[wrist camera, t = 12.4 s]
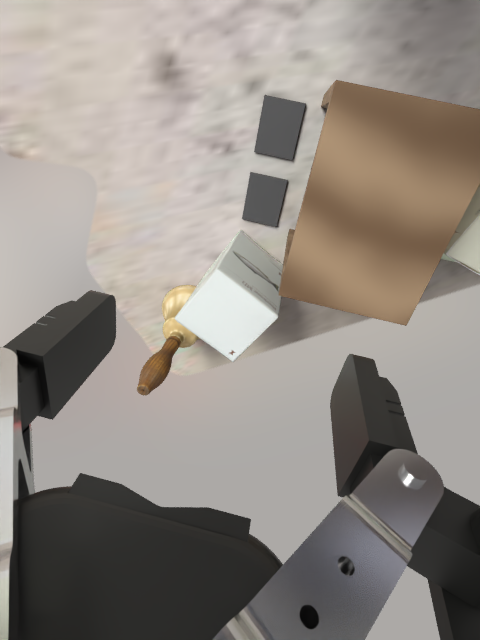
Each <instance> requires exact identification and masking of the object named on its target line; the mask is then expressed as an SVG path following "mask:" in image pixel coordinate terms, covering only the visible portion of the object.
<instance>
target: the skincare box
mask: <svg viewBox="0 0 480 640" xmlns="http://www.w3.org/2000/svg"><path fill="white" fill-rule="evenodd" d="M444 254H445V255H446V256H448V257H450V258H451V259H453V260H455V261H456V262H458V263H459V264H461V265H463V266H464V267H466V268H468V269H469V270H471V271H473V272H474V273H476V274H478V275H480V184H479V186H478V187H477V189H476V191H475V193H474V195H473V197H472V199H471V201H470V203H469V205H468V207H467V209H466V211H465V213H464V215H463V217H462V219H461V220H460V222H459V224H458V226H457V228H456V230H455V232H454V234H453V236H452V238H451V240H450V242H449V244H448V246H447V248H446V250H445V252H444Z"/></svg>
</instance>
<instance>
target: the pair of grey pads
mask: <svg viewBox="0 0 480 640" xmlns="http://www.w3.org/2000/svg"><path fill="white" fill-rule="evenodd" d="M305 105H306V104H305V103H300V102H296V101H291V100H286V99H281V98H277V97H272V96H267V95H265V96H264V101H263V107H262V112H261V118H260V123H259V129H258V134H257V140H256V145H255V151H254V152H257V153H261V154H266V155H271V156H275V157H280V158H284V159H289V160H292V159H293V155H294V151H295V147H296V143H297V138H298V134H299V130H300V126H301V121H302V117H303V113H304V109H305ZM286 185H287V180H285V179H280V178H276V177H271V176H266V175H262V174H257V173H253V172H251V173H250V178H249V184H248V189H247V195H246V200H245V206H244V211H243V217H242V219H244V220H249V221H253V222H257V223H262V224H266V225H271V226H275V227H277V223H278V218H279V214H280V210H281V206H282V202H283V197H284V193H285V189H286Z"/></svg>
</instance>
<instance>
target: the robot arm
mask: <svg viewBox="0 0 480 640" xmlns="http://www.w3.org/2000/svg"><path fill="white" fill-rule="evenodd" d="M115 338H116V301H115V297H114V296H113V295H109V294H105V293H100V292H96V291H92V290H91V291H88V292H87V293H86V294H84V295H83V296H82V297H81V298H80V299H78V300H77V301H69V302H67V303H64V304H61V305H59V306H56V307H55V308H54V309H52V310H51V311H50V312H48V313H47V314H46V315H45V317H44V316H43V317H42V318H40V319H39V320H38V321H37V322H36V324H35V323H34V324H33V325H31V326H30V327H29V328H27V329H26V330H25V331H23V332H22V333H21V334H19V335H18V336H17V337H15V338H14V339H13V340H12V341H10V342H9V343H8V344H7V345H5V346H4V347H0V640H365V638H366V637H367V635H368V633H369V631H370V630H371V628H372V626H373V624H374V623H375V621H376V619H377V617H378V616H379V614H380V612H381V610H382V608H383V607H384V605H385V603H386V601H387V600H388V598H389V596H390V594H391V593H392V591H393V589H394V587H395V586H396V584H397V582H398V580H399V579H400V577H401V575H402V573H403V572H404V570H405V568H406V566H408V567H410V568H411V569H413V570H415V571H416V572H418V573H419V574H421V575H423V576H424V577H426V578H427V579H428V583H429V588H430V593H431V598H432V602H433V607H434V611H435V616H436V621H437V626H438V631H439V635H440V640H480V506H479V505H477V504H475V503H473V502H471V501H469V500H468V499H466V498H464V497H462V496H460V495H458V494H456V493H454V492H452V491H450V490H449V489H447V488H446V487H444V484H443V481H442V479H441V477H440V475H439V473H438V472H437V470H436V469H435V468H434V467H433V466H432V465H431V464H430V463H429V462H428V461H427V460H425V459H424V458H423V457H421V456H420V455H418V453H417V450H416V448H415V444H414V441H413V438H412V436H411V432H410V430H409V426H408V423H407V420H406V417H404V411H403V408H402V406H401V402H400V399H399V396H398V393H397V391H396V389H395V388H394V387H393V385H392V384H391V383H390V382H389V381H388V379H387V378H383V377H379V375H378V371H377V368H376V364H375V361H374V360H373V359H370V358H366V357H362V356H357V355H353V354H349V356H348V357H347V359H346V361H345V363H344V366H343V368H342V370H341V372H340V375H339V377H338V379H337V382H336V384H335V386H334V389H333V392H332V396H331V403H330V408H331V421H332V433H333V444H334V457H335V469H336V480H337V492H338V496H340V497H344V498H343V499H342V500H341V501H340V502H339V503H338V504H337V505H336V507H334V508H333V510H332V511H331V512H330V513H329V514H328V515H327V516H326V517H325V519H324V520H323V521H322V522H321V523H320V524H319V525H318V526H317V527H316V529H315V530H314V531H313V532H312V533H311V534H310V535H309V536H308V538H307V539H306V540H305V541H304V542H303V543H302V544H301V545H300V547H299V548H298V549H297V550H296V551H295V552H294V554H292V555H291V557H290V558H289V559H288V560H287V561H286V562H285V563H284V564H282V563H281V561H280V560H279V559H278V558H277V557H276V555H275V554H274V553H273V552H272V551H271V550H270V549H269V548H268V547H267V546H266V545H265V544H263V543H262V542H261V541H259V540H258V539H257V538H255V537H253V536H252V535H250V534H249V529H250V522H251V519H249V518H245V517H241V516H238V515H234V514H230V513H226V512H223V511H219V510H215V509H211V508H191V507H189V508H188V507H185V508H184V507H181V508H179V507H176V508H175V507H160V506H157V505H155V504H153V503H152V502H150V501H149V500H147V499H145V498H144V497H142V496H140V495H139V494H137V493H135V492H134V491H132V490H130V489H129V488H127V487H125V486H124V485H122V484H119V483H115V482H111V481H108V480H104V479H100V478H97V477H93V476H89V475H86V474H82V473H80V474H79V476H78V478H77V479H76V481H75V482H74V484H73V485H72V487H59V488H53V489H48V490H43V491H40V492H37V493H35V488H34V474H33V473H34V472H33V450H32V429H31V424H30V423H31V422H32V421H33V420H34V419H35V418H36V416H41V417H45V418H48V419H53V418H54V417H55V416H56V415H57V414H58V412H59V411H60V410H61V409H62V408H63V406H64V405H65V404H66V403H67V402H68V401H69V399H70V398H71V397H72V396H73V395H74V393H75V392H76V391H77V390H78V389H79V387H80V386H81V385H82V384H83V383H84V381H85V380H86V379H87V377H89V375H90V374H91V373H92V372H93V371H94V369H95V368H96V367H97V366H98V365H99V364H100V362H101V361H102V360H103V359H104V358H105V356H106V355H107V354H108V353H109V351H110V350H111V349H112V347H113V345H114V342H115Z"/></svg>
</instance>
